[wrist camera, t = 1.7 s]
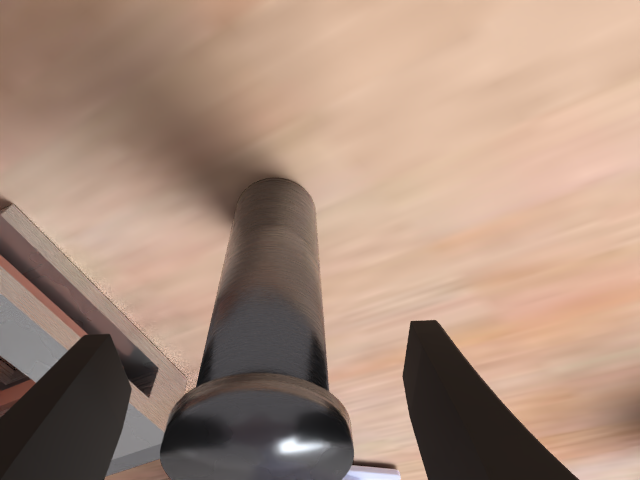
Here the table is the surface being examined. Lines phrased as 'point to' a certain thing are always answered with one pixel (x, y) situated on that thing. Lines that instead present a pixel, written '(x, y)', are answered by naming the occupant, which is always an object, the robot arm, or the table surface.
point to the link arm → (14, 393)
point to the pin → (264, 357)
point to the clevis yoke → (57, 338)
